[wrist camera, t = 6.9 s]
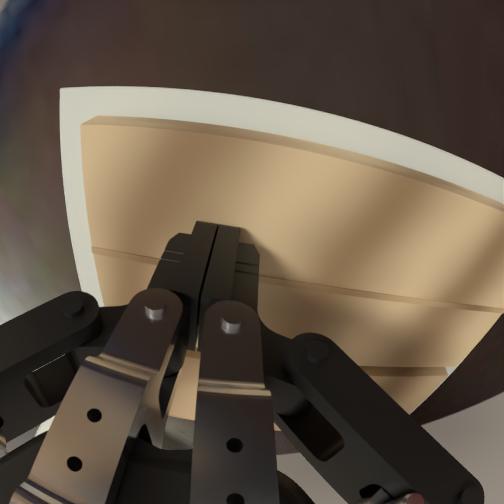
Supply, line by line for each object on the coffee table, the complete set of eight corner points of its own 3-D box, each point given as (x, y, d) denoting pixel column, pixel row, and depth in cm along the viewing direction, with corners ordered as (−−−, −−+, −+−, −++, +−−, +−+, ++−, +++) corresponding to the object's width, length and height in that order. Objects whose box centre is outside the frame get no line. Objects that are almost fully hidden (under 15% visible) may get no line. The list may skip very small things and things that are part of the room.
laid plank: (446, 357, 17) (451, 371, 16) (388, 417, 21) (390, 429, 20) (119, 319, 15) (111, 335, 14) (136, 393, 20) (132, 406, 19)
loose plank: (539, 221, 10) (553, 235, 9) (451, 351, 16) (456, 367, 15) (97, 115, 9) (78, 124, 8) (117, 311, 15) (109, 329, 14)
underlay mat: (557, 208, 10) (559, 210, 10) (401, 419, 22) (401, 421, 22) (63, 88, 9) (60, 88, 9) (114, 391, 21) (114, 393, 21)
